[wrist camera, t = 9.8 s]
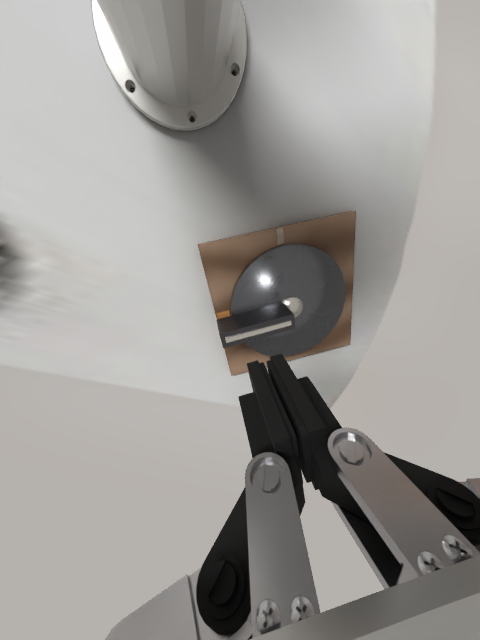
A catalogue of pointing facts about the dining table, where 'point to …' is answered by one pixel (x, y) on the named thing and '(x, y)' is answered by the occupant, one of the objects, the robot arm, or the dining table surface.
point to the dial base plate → (237, 252)
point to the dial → (285, 301)
